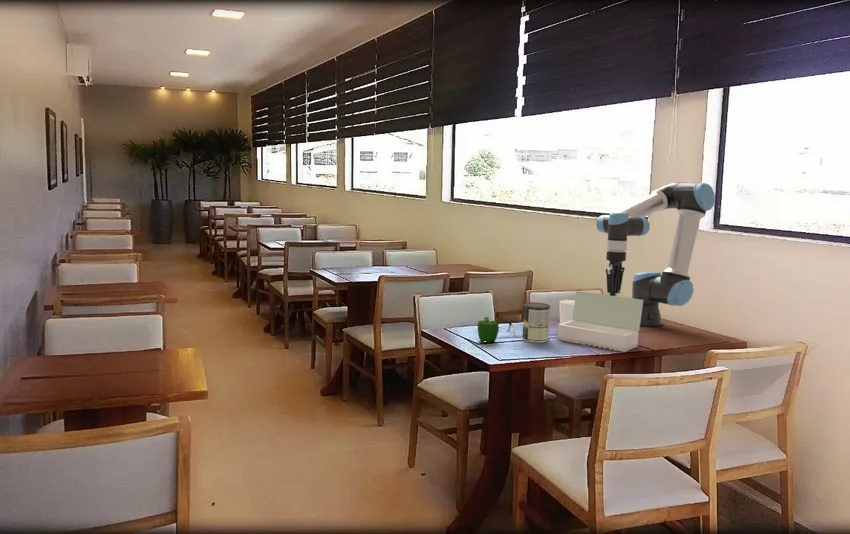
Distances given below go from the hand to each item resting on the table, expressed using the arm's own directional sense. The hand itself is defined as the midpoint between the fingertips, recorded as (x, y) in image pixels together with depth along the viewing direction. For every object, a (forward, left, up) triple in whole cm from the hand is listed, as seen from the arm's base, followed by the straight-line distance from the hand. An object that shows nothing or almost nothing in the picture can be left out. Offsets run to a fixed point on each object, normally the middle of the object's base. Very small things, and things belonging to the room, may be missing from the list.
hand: (612, 308), depth 276 cm
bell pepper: (+42, -32, -12) cm, 54 cm away
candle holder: (-1, -19, -12) cm, 22 cm away
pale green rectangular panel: (+6, 0, 0) cm, 6 cm away
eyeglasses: (+28, -38, -12) cm, 48 cm away
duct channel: (+13, 0, -12) cm, 18 cm away
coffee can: (+26, -20, -12) cm, 35 cm away
